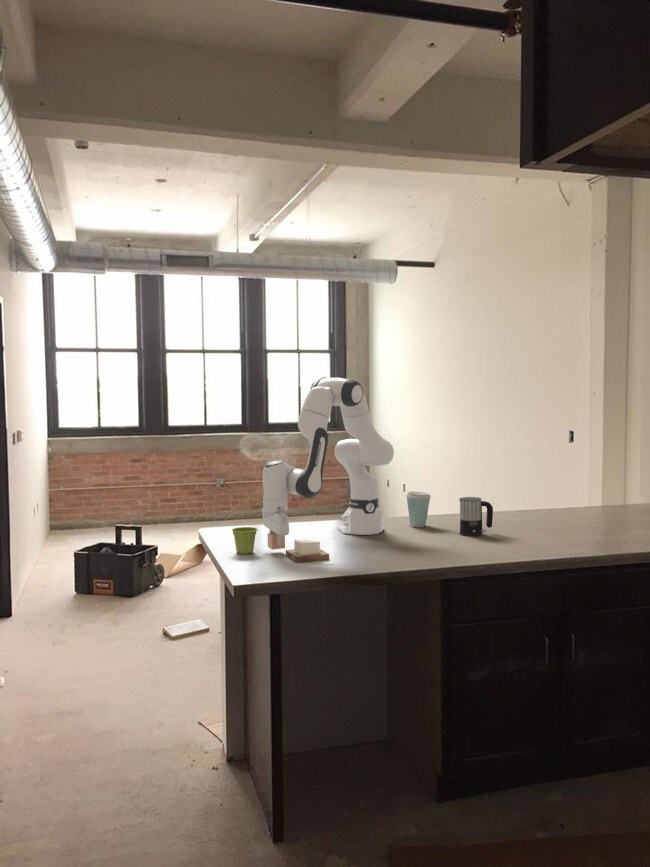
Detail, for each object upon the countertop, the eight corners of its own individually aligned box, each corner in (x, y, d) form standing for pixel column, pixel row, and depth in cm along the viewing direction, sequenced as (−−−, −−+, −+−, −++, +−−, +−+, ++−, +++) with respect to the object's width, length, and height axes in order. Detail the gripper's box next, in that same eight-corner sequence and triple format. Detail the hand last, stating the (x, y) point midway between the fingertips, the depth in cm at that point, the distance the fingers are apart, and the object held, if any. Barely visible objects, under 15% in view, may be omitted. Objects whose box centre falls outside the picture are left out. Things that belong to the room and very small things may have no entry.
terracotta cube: (267, 546, 257) (267, 533, 257) (280, 545, 259) (280, 532, 259) (271, 549, 253) (271, 535, 252) (285, 548, 255) (284, 534, 254)
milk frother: (467, 537, 281) (467, 500, 280) (445, 530, 295) (445, 495, 294) (496, 534, 286) (496, 498, 286) (473, 527, 301) (473, 493, 300)
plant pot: (234, 549, 262) (233, 526, 262) (259, 549, 262) (259, 526, 261) (230, 555, 253) (229, 531, 252) (256, 555, 252) (255, 531, 252)
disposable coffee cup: (420, 523, 312) (420, 489, 312) (435, 526, 303) (436, 492, 302) (401, 525, 307) (401, 491, 306) (416, 529, 298) (416, 494, 297)
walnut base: (285, 555, 252) (285, 550, 252) (316, 552, 256) (316, 547, 256) (297, 563, 241) (296, 557, 240) (329, 559, 245) (329, 553, 245)
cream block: (294, 550, 250) (294, 539, 250) (312, 549, 253) (312, 538, 253) (301, 555, 244) (301, 543, 243) (319, 553, 246) (319, 541, 246)
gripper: (293, 509, 246) (293, 548, 247) (275, 500, 265) (276, 536, 266) (275, 510, 244) (276, 549, 245) (259, 502, 263) (260, 538, 264)
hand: (276, 543), depth 256 cm, fingers closed on terracotta cube, 5 cm apart
